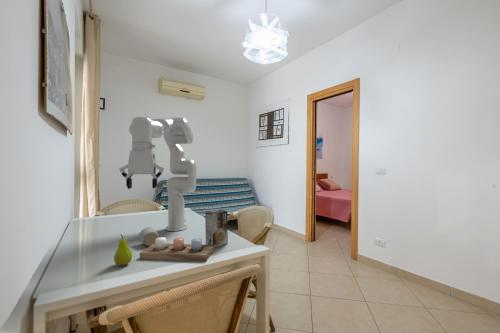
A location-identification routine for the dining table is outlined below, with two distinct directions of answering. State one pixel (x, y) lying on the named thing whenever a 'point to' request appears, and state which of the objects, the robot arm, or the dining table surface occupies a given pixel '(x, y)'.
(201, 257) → the walnut board
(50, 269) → the dining table surface
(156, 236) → the ceramic mug
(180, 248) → the salmon domed cylinder
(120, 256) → the fruit
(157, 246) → the white egg
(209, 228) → the coffee box
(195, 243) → the blue egg
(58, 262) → the dining table surface
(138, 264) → the dining table surface
